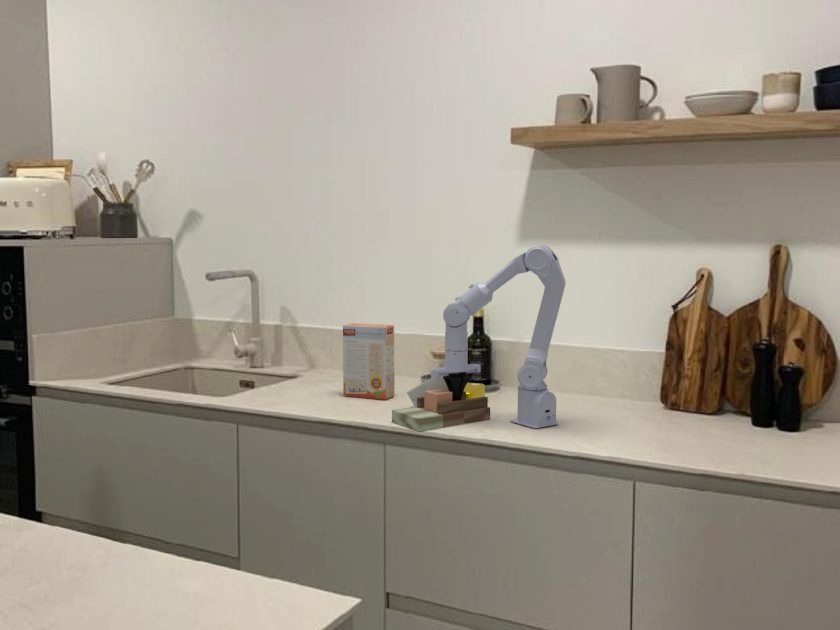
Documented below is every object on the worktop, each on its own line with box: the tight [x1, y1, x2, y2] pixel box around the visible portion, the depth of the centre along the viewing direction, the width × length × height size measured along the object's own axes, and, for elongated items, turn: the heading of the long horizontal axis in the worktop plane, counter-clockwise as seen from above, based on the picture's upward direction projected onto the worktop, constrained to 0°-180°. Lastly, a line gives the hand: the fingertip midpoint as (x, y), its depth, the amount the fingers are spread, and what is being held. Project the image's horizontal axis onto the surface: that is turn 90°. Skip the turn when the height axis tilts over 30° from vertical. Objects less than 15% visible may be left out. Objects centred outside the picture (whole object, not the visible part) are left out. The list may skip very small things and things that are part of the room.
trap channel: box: [391, 391, 491, 432], centre depth 210 cm, size 12×22×6 cm, turn 125°
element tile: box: [464, 382, 486, 399], centre depth 236 cm, size 15×15×5 cm
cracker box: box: [342, 323, 395, 401], centre depth 239 cm, size 14×6×21 cm, turn 64°
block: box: [424, 389, 452, 412], centre depth 210 cm, size 5×5×4 cm
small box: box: [406, 376, 449, 407], centre depth 222 cm, size 8×6×10 cm
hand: (455, 402), depth 213 cm, fingers closed
